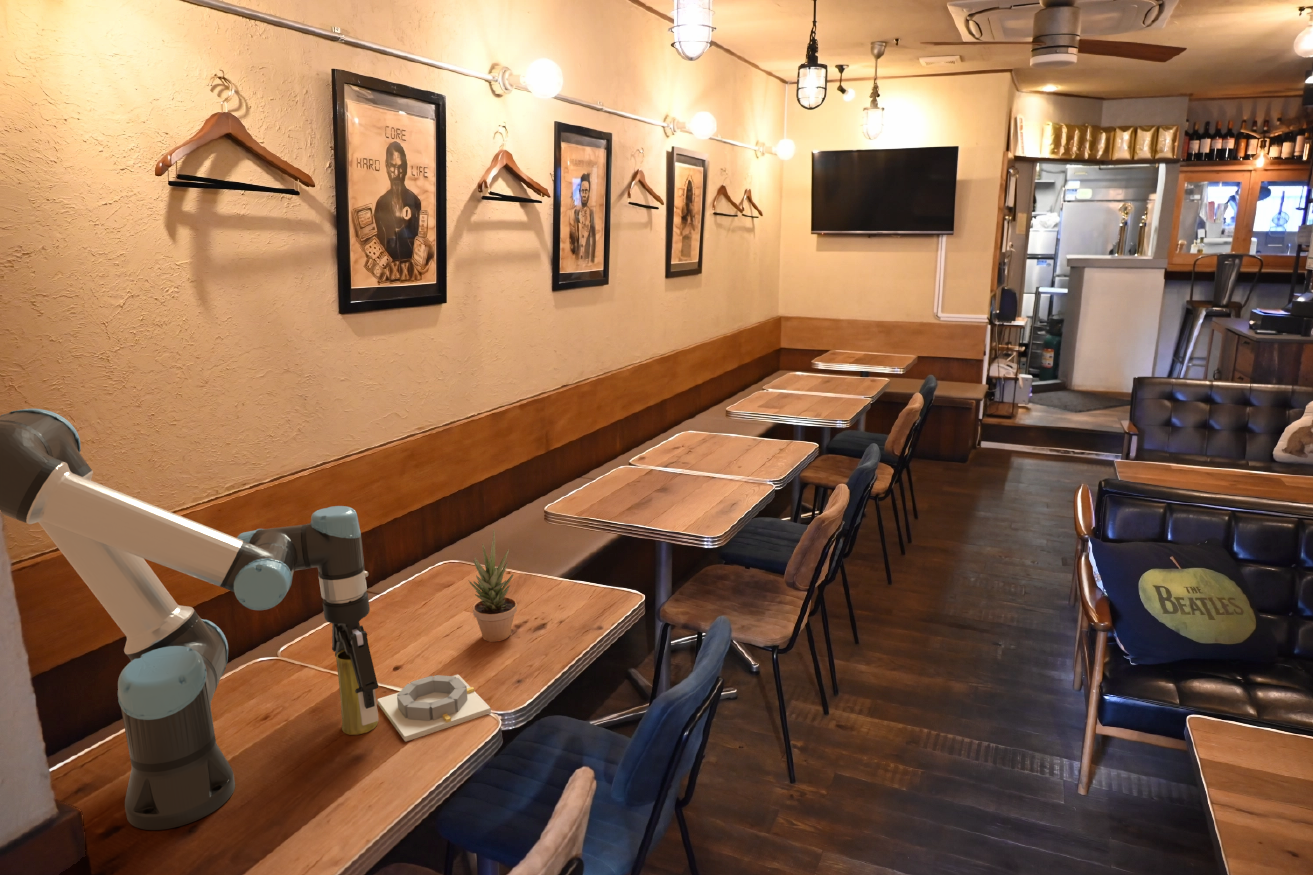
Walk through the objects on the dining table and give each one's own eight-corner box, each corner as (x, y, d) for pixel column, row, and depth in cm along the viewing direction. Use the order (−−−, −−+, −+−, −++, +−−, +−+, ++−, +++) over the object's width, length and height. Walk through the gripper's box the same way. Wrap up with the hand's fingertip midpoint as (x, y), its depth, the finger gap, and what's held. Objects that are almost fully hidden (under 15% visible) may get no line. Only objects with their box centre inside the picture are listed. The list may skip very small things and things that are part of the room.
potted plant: (510, 646, 187) (503, 536, 182) (468, 644, 188) (459, 535, 183) (525, 626, 197) (518, 521, 191) (484, 624, 198) (476, 520, 193)
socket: (405, 741, 152) (403, 723, 151) (377, 703, 165) (375, 686, 164) (491, 712, 161) (489, 695, 160) (458, 678, 174) (457, 662, 173)
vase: (366, 736, 154) (358, 662, 151) (335, 733, 155) (326, 659, 152) (383, 718, 160) (376, 646, 156) (353, 715, 161) (345, 644, 158)
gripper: (388, 612, 144) (402, 728, 148) (347, 569, 164) (360, 673, 169) (341, 625, 140) (357, 744, 144) (305, 579, 160) (320, 685, 165)
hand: (359, 706), depth 157 cm, fingers open, 13 cm apart
